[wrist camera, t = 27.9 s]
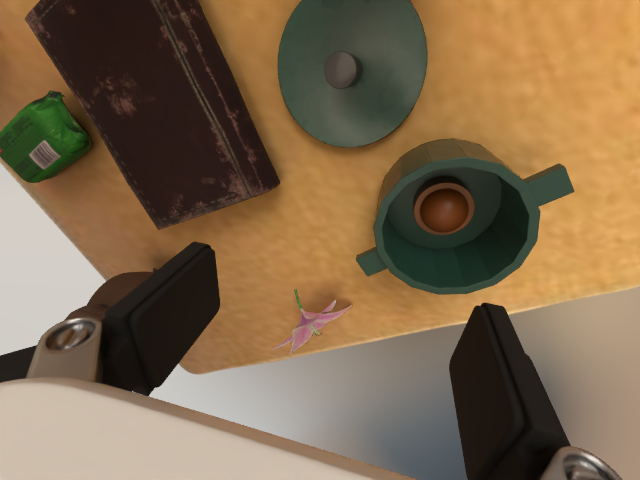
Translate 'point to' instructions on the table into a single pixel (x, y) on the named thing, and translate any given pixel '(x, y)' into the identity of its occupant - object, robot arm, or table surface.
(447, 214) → the brown domed piece
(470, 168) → the pot
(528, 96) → the table surface
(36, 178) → the snack package
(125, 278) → the alarm clock
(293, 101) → the pot lid
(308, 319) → the lily
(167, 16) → the diary
